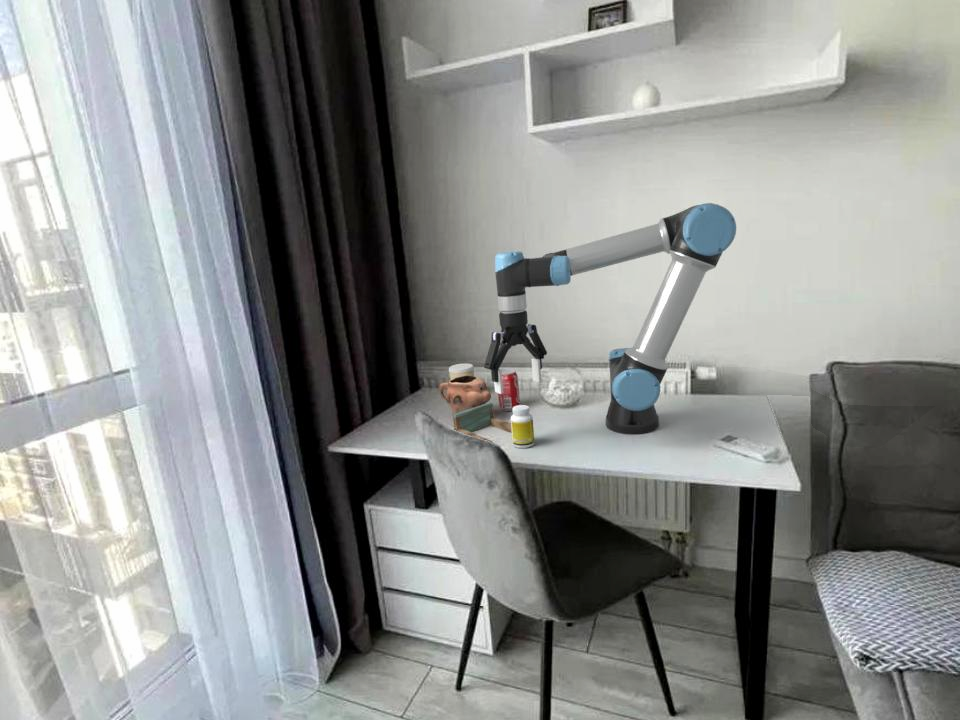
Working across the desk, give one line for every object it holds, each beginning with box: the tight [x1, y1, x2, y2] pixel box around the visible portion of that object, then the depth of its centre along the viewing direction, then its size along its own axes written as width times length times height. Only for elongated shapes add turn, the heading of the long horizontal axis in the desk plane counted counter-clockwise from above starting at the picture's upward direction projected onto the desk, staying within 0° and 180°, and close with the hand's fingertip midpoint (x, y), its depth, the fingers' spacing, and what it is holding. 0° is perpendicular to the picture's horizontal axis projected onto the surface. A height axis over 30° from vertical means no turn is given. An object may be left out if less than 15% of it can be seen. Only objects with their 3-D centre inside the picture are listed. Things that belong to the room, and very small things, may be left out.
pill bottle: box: [510, 404, 535, 449], centre depth 155 cm, size 6×6×11 cm
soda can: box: [497, 368, 521, 412], centre depth 187 cm, size 7×7×13 cm
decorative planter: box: [438, 375, 492, 415], centre depth 180 cm, size 20×12×14 cm, turn 63°
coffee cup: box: [448, 363, 475, 381], centre depth 204 cm, size 9×9×12 cm
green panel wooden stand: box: [452, 401, 512, 443], centre depth 164 cm, size 17×14×7 cm
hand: (518, 387), depth 153 cm, fingers open, 13 cm apart
